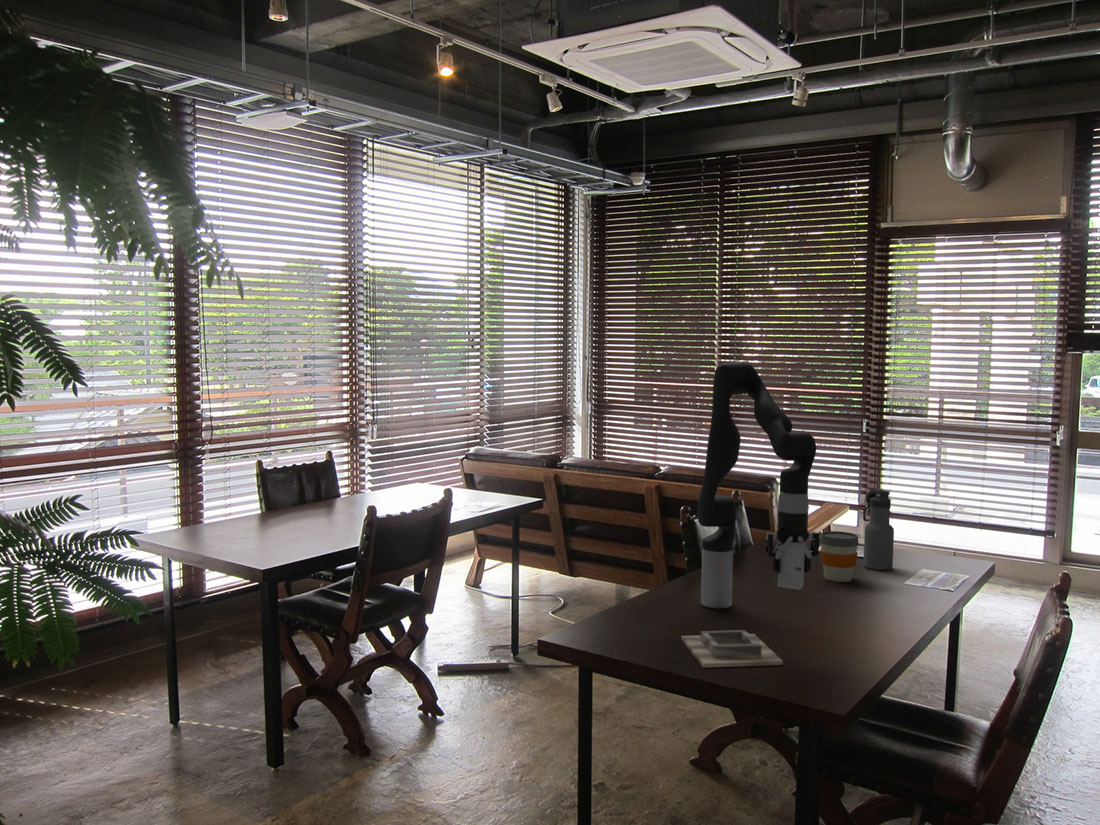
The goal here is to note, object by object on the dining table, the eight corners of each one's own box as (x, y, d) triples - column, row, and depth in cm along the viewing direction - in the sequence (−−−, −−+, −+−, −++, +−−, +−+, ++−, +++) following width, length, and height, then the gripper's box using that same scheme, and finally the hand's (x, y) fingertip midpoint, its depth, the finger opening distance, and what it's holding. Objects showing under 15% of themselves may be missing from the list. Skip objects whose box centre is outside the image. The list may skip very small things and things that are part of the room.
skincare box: (776, 587, 217) (778, 541, 217) (781, 583, 221) (782, 537, 221) (801, 590, 215) (802, 544, 214) (804, 586, 218) (806, 540, 218)
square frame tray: (681, 639, 223) (681, 626, 223) (753, 637, 225) (754, 624, 225) (703, 667, 203) (703, 653, 203) (782, 664, 205) (782, 650, 205)
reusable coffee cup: (862, 583, 280) (864, 539, 279) (825, 583, 280) (826, 538, 279) (850, 573, 292) (851, 531, 291) (814, 573, 293) (815, 530, 292)
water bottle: (856, 565, 304) (859, 489, 302) (876, 562, 308) (879, 487, 306) (878, 572, 295) (881, 493, 293) (898, 569, 299) (901, 491, 297)
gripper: (813, 506, 221) (811, 567, 222) (761, 507, 219) (759, 568, 221) (826, 511, 214) (823, 575, 215) (771, 512, 212) (769, 576, 213)
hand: (791, 572), depth 218 cm, fingers closed on skincare box, 7 cm apart
